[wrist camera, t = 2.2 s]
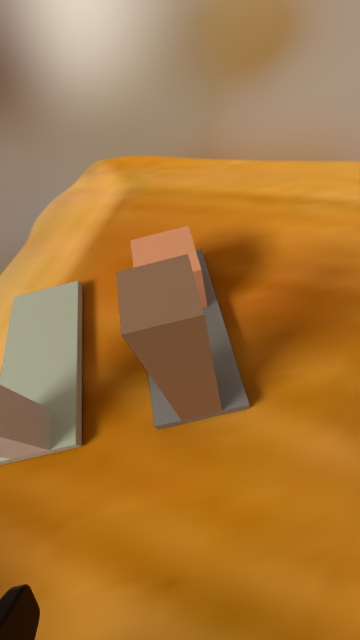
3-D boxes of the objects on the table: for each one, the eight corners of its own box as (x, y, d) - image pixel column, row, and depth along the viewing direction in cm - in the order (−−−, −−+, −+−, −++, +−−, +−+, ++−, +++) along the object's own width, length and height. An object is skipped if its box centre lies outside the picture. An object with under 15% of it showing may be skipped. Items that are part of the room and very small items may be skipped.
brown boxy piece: (249, 408, 22) (261, 300, 10) (157, 429, 22) (67, 347, 11) (202, 256, 31) (179, 102, 19) (137, 272, 31) (74, 132, 19)
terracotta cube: (207, 307, 26) (201, 269, 22) (152, 320, 26) (135, 286, 22) (195, 265, 29) (188, 225, 25) (146, 278, 29) (130, 240, 25)
